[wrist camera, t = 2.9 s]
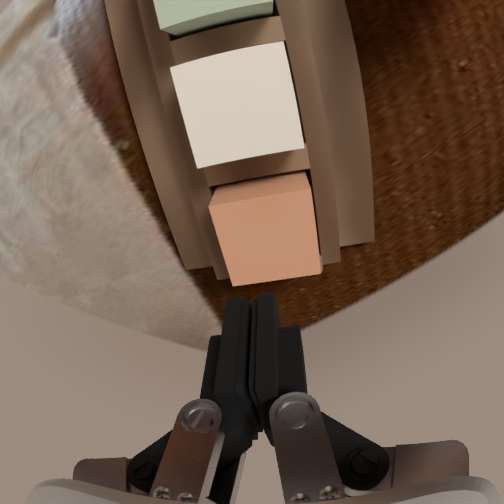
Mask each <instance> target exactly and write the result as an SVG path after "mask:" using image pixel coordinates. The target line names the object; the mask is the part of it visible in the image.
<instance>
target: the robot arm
mask: <svg viewBox="0 0 504 504" xmlns="http://www.w3.org/2000/svg"><path fill="white" fill-rule="evenodd" d="M263 429H264V431H265V433H266V435H267V437H268V439H269V442H270V444H271V445H272V446H273V447H275V452H276V457H277V463H278V468H279V474H280V479H281V484H282V489H283V495H284V500H285V504H503V501H502V498H501V496H500V494H499V492H498V490H497V488H496V487H495V486H494V484H492V483H491V482H490V481H489V480H487V479H484V478H480V477H473V476H469V454H468V450H467V447H466V446H465V445H464V444H463V443H462V442H459V441H457V440H448V441H440V442H430V443H420V444H406V445H405V444H404V445H396V446H395V447H381V446H379V445H378V444H376V443H374V442H372V441H370V440H369V439H367V438H365V437H363V436H362V435H360V434H358V433H356V432H354V431H353V430H351V429H349V428H348V427H346V426H344V425H343V424H341V423H339V422H338V421H336V420H334V419H333V418H331V417H329V416H327V415H326V414H324V413H323V412H321V411H320V407H319V405H318V403H317V401H316V400H315V399H314V398H313V397H312V396H311V395H308V393H307V383H306V373H305V364H304V354H303V346H302V339H301V332H300V326H299V325H297V326H290V327H283V328H281V323H280V318H279V314H278V309H277V305H276V300H275V296H274V292H270V293H263V294H258V298H257V299H253V302H252V308H251V304H250V301H249V300H244V298H243V297H235V298H228V299H227V301H226V307H225V314H224V321H223V328H222V335H216V336H211V338H210V341H209V347H208V352H207V359H206V365H205V370H204V376H203V382H202V388H201V394H200V399H197V400H193V401H191V402H189V403H187V404H186V405H185V406H184V407H183V408H182V409H181V410H180V412H179V414H178V416H177V419H176V421H175V424H174V427H173V429H172V430H171V431H170V432H168V433H167V434H166V435H164V436H163V437H162V438H160V439H159V440H157V441H156V442H154V443H153V444H152V445H150V446H149V447H147V448H146V449H145V450H143V451H142V452H140V453H139V454H137V455H136V456H135V457H133V458H132V459H128V458H126V457H121V458H120V457H119V458H101V459H100V458H98V459H83V460H81V461H79V462H78V463H77V464H76V466H75V467H74V471H73V480H72V479H51V480H47V481H43V482H40V483H38V484H37V485H36V486H35V487H34V488H33V489H32V490H31V492H30V494H29V496H28V498H27V501H26V504H235V501H236V497H237V493H238V488H239V484H240V480H241V476H242V471H243V466H244V462H245V458H246V451H247V450H248V449H249V448H250V447H251V446H252V440H257V439H258V432H262V431H263ZM346 497H348V498H346Z"/></svg>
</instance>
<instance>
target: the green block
mask: <svg viewBox="0 0 504 504" xmlns="http://www.w3.org/2000/svg"><path fill="white" fill-rule="evenodd" d="M153 2H154V6H155V10H156V14H157V18H158V23H159V27H160V30H163V31H166V32H168V33H171V34H173V35H176V36H178V37H179V36H182V35H185V34H188V33H192V32H195V31H199V30H202V29H206V28H210V27H214V26H218V25H222V24H226V23H230V22H235V21H240V20H245V19H250V18H255V17H261V16H267V15H272V11H273V0H153Z"/></svg>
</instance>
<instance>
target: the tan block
mask: <svg viewBox="0 0 504 504" xmlns="http://www.w3.org/2000/svg"><path fill="white" fill-rule="evenodd" d="M208 207H209V210H210V214H211V217H212V220H213V224H214V227H215V230H216V234H217V237H218V240H219V244H220V247H221V250H222V253H223V257H224V260H225V263H226V266H227V269H228V273H229V276H230V279H231V282H232V285H233V286H240V285H247V284H254V283H261V282H268V281H275V280H282V279H289V278H296V277H302V276H309V275H315V274H321V267H320V258H319V249H318V240H317V231H316V223H315V215H314V208H313V200H312V193H311V188H310V185H309V182H308V180H307V177H306V174H305V172H304V170H301V171H295V172H288V173H282V174H276V175H271V176H265V177H259V178H254V179H248V180H243V181H238V182H233V183H228V184H223V185H218V186H217V188H216V190H215V192H214V195H213V197H212V199H211V202H210V204H209V206H208Z"/></svg>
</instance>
